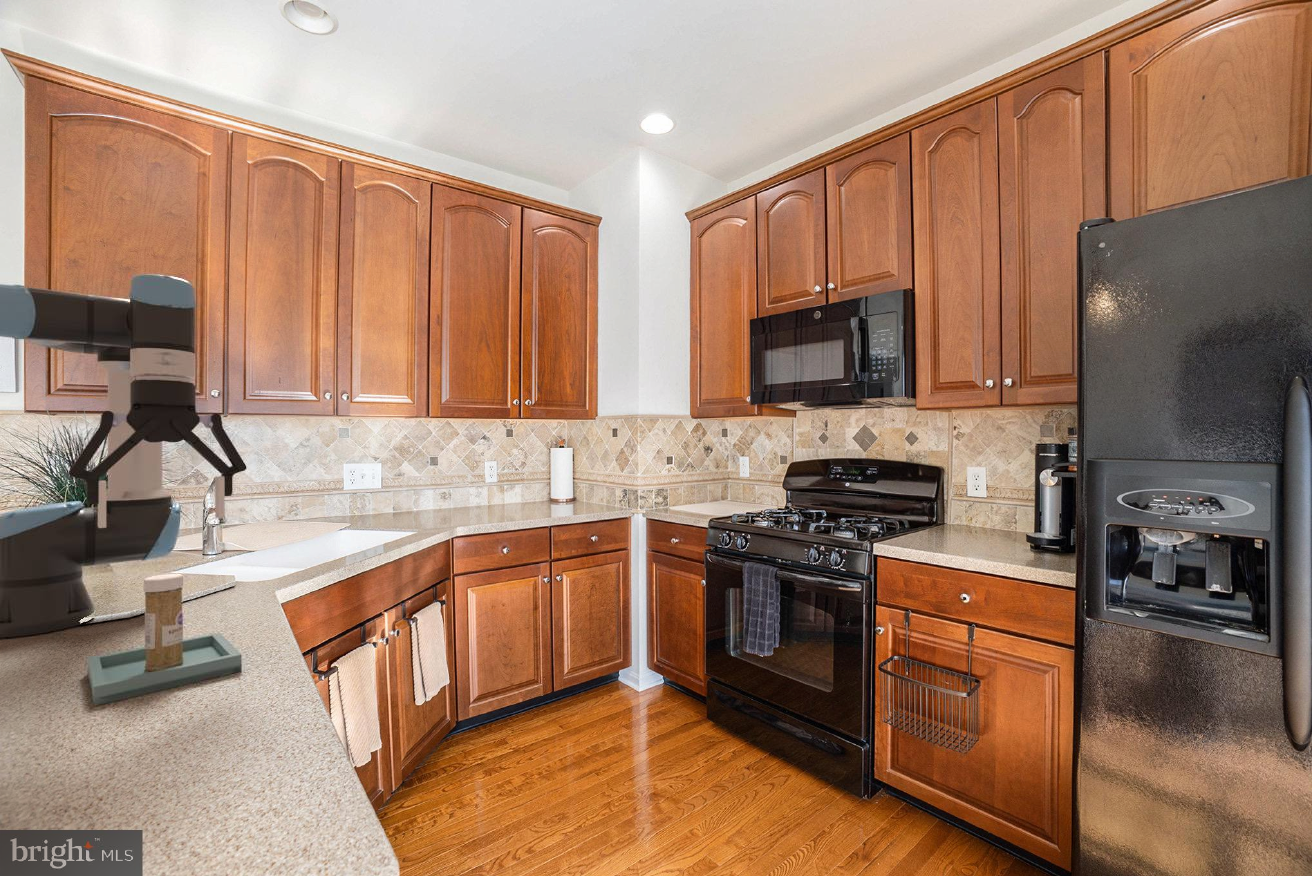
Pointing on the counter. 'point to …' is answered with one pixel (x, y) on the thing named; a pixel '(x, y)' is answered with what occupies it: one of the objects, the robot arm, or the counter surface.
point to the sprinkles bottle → (163, 621)
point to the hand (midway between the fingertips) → (164, 522)
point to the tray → (129, 677)
